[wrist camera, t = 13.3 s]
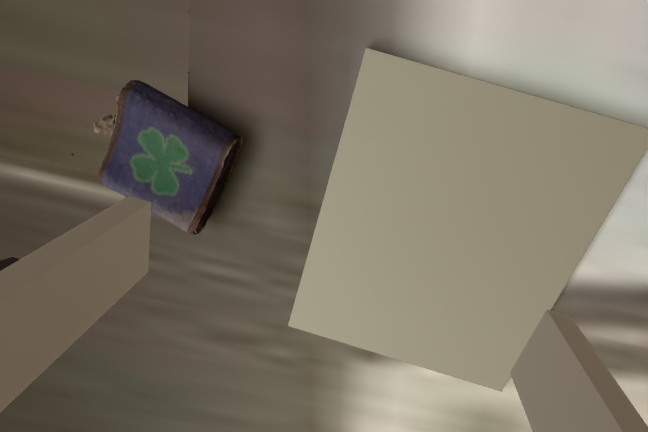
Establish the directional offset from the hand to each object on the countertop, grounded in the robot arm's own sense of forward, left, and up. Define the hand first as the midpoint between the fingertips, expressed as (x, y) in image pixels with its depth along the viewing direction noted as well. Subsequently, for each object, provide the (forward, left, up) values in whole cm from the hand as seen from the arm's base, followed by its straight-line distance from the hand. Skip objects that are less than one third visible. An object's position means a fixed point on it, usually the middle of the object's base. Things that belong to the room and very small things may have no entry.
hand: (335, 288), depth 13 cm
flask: (+5, -11, -20) cm, 23 cm away
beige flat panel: (+4, +8, -19) cm, 21 cm away
